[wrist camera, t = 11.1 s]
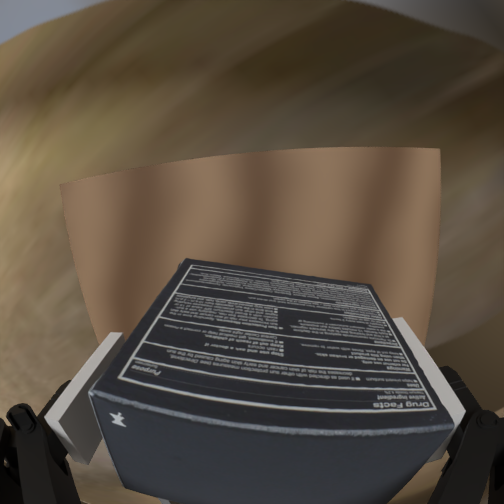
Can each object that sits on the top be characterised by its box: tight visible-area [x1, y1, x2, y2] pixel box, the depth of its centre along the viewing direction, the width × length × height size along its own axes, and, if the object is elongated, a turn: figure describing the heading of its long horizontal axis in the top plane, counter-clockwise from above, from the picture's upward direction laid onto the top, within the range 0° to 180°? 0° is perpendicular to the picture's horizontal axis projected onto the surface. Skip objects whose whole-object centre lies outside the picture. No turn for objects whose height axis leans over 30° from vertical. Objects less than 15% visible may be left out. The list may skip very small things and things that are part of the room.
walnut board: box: [60, 147, 441, 347], centre depth 18 cm, size 22×18×2 cm
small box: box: [88, 258, 455, 504], centre depth 12 cm, size 11×6×10 cm, turn 83°
